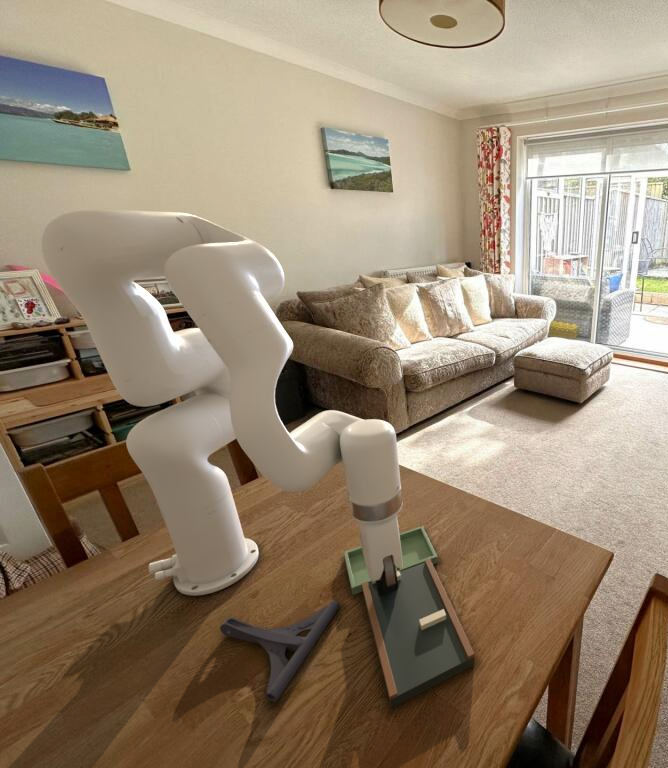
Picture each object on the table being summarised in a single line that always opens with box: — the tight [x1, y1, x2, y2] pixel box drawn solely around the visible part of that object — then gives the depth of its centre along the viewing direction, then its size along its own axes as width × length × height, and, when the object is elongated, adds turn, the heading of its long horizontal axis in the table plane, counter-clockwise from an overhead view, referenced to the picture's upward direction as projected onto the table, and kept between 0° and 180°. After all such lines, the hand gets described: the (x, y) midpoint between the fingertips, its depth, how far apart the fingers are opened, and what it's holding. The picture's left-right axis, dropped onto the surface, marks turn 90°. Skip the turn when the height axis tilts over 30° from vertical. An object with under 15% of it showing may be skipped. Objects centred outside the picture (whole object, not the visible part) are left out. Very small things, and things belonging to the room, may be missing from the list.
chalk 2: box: [419, 609, 446, 630], centre depth 62 cm, size 4×1×1 cm, turn 119°
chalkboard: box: [362, 558, 475, 709], centre depth 63 cm, size 12×20×2 cm, turn 29°
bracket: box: [219, 600, 341, 703], centre depth 60 cm, size 14×15×3 cm
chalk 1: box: [397, 571, 401, 581], centre depth 69 cm, size 4×1×1 cm, turn 118°
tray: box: [343, 525, 439, 596], centre depth 76 cm, size 15×9×2 cm, turn 119°
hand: (387, 589), depth 67 cm, fingers closed
